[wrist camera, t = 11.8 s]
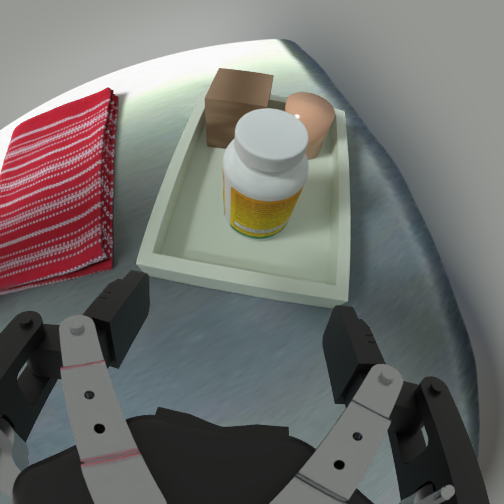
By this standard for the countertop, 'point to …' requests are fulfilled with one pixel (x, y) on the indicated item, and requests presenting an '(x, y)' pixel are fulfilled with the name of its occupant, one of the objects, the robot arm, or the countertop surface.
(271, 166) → the supplement bottle
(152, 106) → the countertop surface
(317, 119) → the peach rounded cylinder
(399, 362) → the countertop surface
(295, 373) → the countertop surface
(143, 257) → the tray
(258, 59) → the countertop surface
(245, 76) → the walnut block
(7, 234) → the dish towel
